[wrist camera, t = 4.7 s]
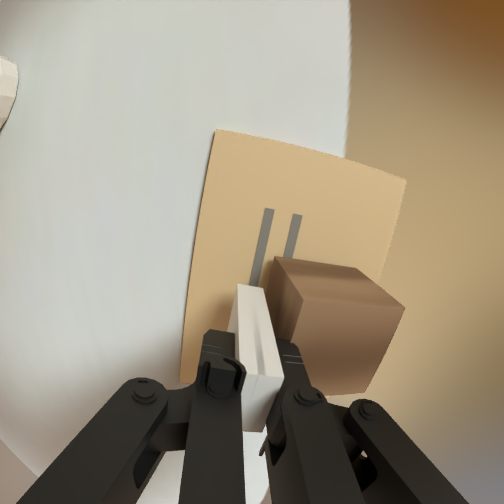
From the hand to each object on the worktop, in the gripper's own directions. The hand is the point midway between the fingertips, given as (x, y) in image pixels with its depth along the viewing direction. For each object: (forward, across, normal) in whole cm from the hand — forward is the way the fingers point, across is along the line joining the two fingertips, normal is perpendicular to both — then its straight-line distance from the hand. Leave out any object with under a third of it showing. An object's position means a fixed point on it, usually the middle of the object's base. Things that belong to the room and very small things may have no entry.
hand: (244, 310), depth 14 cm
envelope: (+2, +2, 0) cm, 3 cm away
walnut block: (+2, +4, 0) cm, 4 cm away
